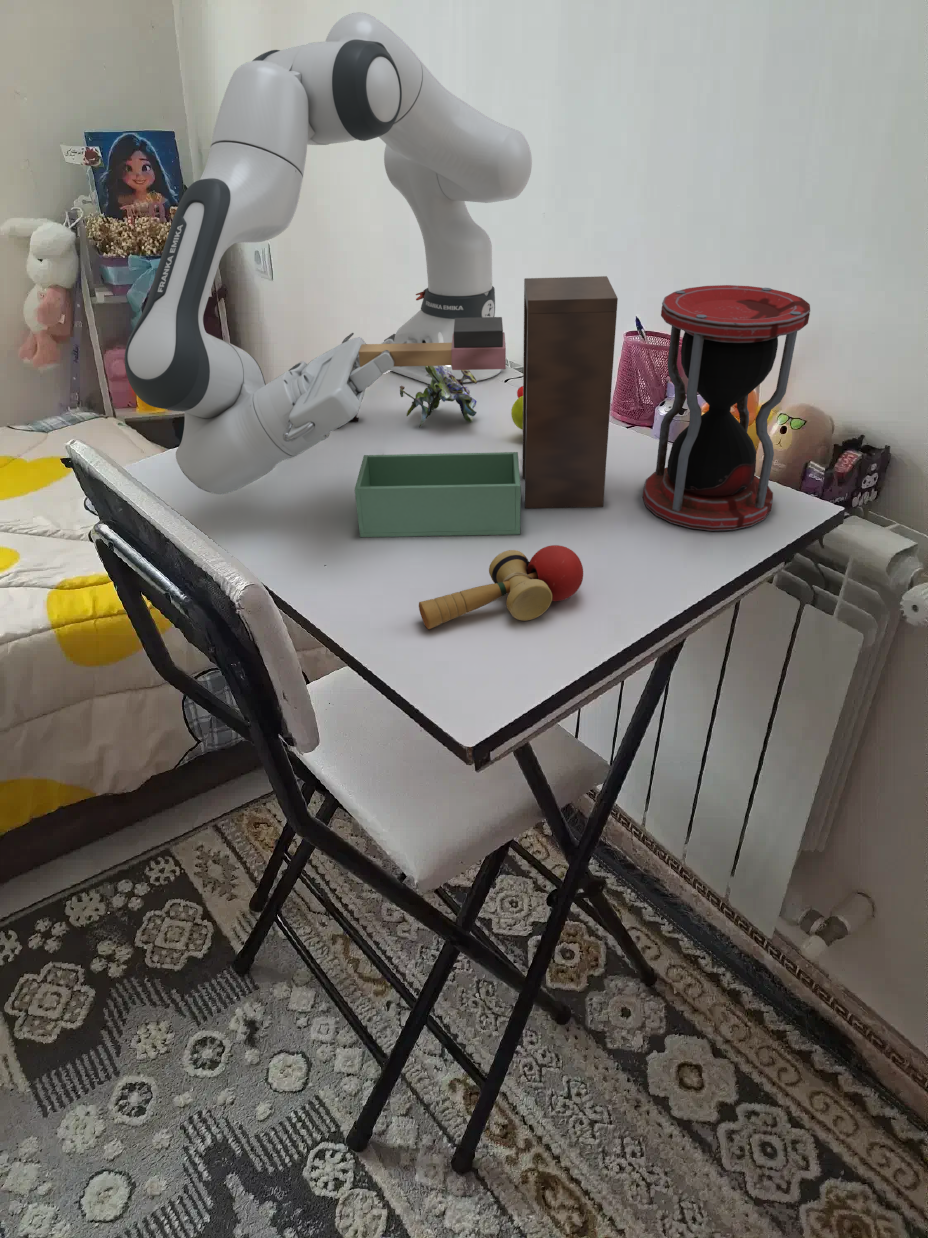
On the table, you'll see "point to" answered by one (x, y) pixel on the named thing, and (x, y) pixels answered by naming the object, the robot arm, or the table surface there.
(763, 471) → the hourglass
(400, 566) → the table surface
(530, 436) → the shelf stand
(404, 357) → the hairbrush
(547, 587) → the kendama
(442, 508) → the bin
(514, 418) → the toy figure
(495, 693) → the table surface
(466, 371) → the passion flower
